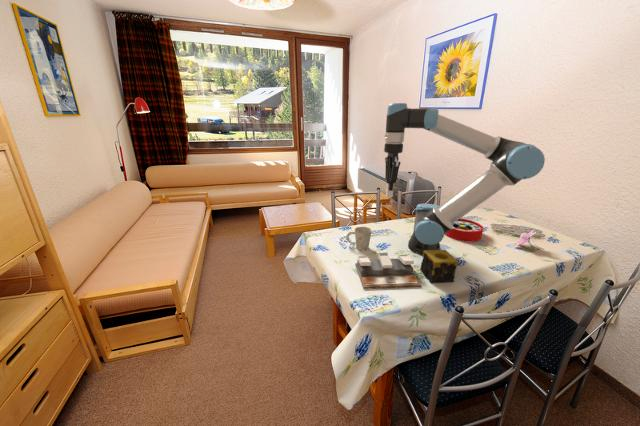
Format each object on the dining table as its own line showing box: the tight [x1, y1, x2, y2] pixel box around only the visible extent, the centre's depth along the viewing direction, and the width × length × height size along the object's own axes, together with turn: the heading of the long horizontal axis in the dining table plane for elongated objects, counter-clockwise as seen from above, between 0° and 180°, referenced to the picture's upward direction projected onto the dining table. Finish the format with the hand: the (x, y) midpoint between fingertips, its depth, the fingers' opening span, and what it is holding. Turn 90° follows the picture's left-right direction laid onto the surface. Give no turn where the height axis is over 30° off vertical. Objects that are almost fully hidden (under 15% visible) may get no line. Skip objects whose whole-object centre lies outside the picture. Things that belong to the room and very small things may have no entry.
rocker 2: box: [397, 254, 415, 265], centre depth 118 cm, size 4×8×2 cm, turn 3°
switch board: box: [354, 258, 422, 290], centre depth 116 cm, size 23×18×4 cm
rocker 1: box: [357, 255, 371, 266], centre depth 117 cm, size 4×8×2 cm, turn 3°
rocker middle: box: [377, 252, 392, 268], centre depth 118 cm, size 4×8×2 cm, turn 3°
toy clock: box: [444, 218, 484, 243], centre depth 155 cm, size 20×6×20 cm
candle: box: [419, 249, 459, 284], centre depth 114 cm, size 10×10×10 cm
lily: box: [514, 229, 537, 249], centre depth 139 cm, size 12×12×10 cm
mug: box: [345, 226, 373, 252], centre depth 139 cm, size 8×13×10 cm, turn 78°
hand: (389, 196), depth 123 cm, fingers closed
